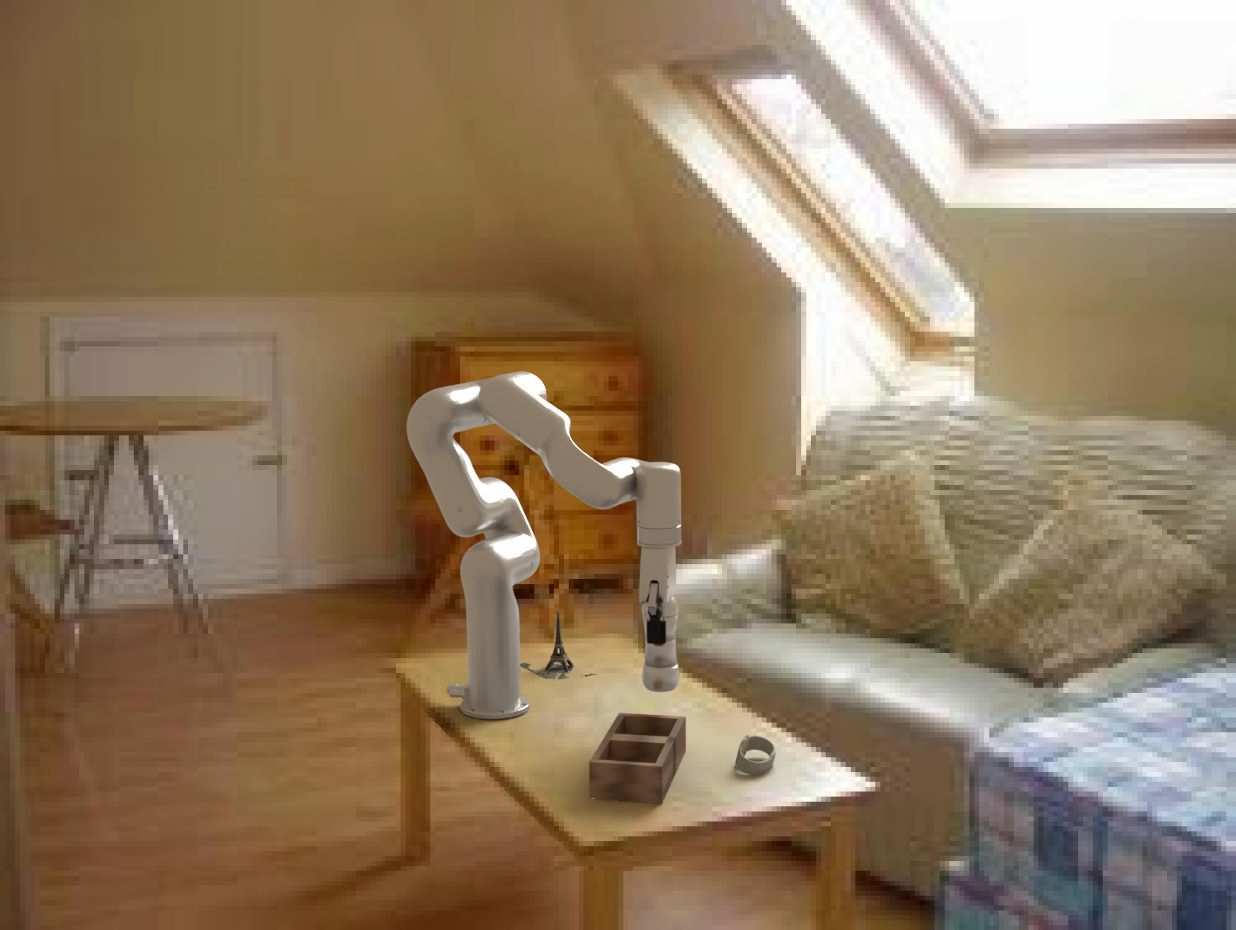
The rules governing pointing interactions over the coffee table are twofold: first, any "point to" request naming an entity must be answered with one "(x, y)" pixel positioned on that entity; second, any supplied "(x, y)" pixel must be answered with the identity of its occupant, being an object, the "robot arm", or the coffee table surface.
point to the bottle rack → (638, 758)
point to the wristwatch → (755, 744)
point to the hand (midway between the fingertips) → (660, 636)
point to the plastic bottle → (662, 653)
